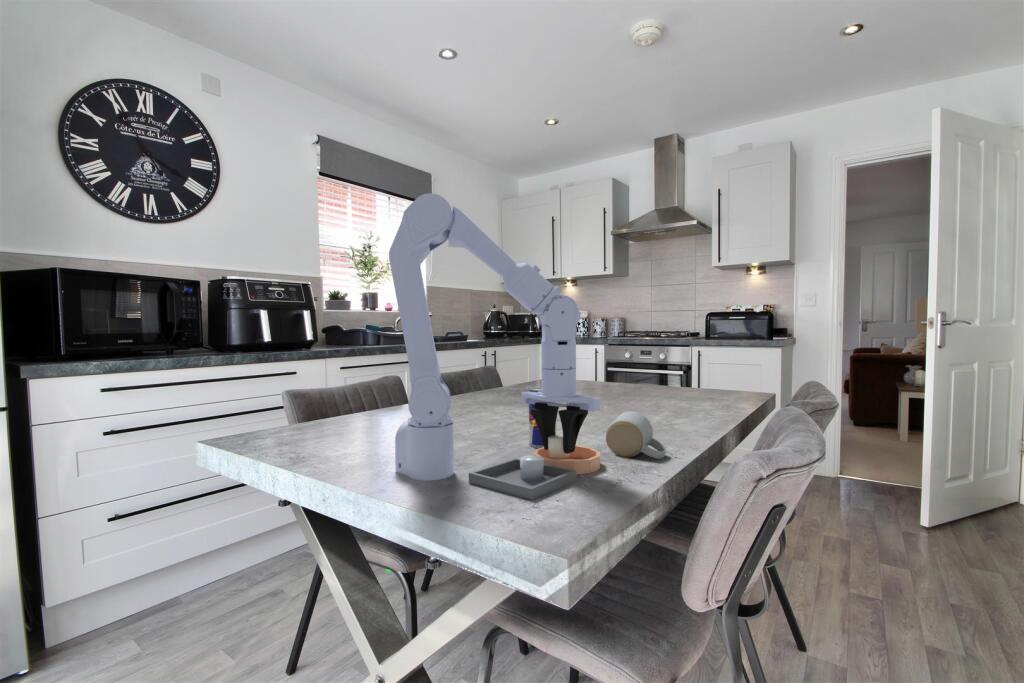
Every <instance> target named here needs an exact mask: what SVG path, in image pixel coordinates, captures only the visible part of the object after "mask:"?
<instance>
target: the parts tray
mask: <svg viewBox="0 0 1024 683" xmlns="http://www.w3.org/2000/svg"><path fill="white" fill-rule="evenodd" d="M577 477H578V474H577V471H575V470H570V469H565V468H561V467H556V466H551V465H546V464H544V479H542V480H540V481H524V480H522V479H521V478H520V458H516V457H515V458H512V459H509V460H506V461H502V462H499V463H497V464H492V465H489V466H486V467H483V468H481V469H477V470H474V471H471V472H468V483H469V484H472V485H476V486H479V487H483V488H487V489H491V490H494V491H498V492H500V493H501V492H502V493H504V494H505V493H506V494H509V495H512V496H515V497H520V498H523V499H526V500H530V501H533V500H535V499H538V498H540V497H542V496H545V495H547V494H549V493H551V492H554V491H556V490H558V489H561V488H563V487H565V486H567V485H569V484H572V483H575V482H576V481H577V480H578V478H577Z"/></svg>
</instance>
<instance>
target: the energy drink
mask: <svg viewBox="0 0 1024 683" xmlns="http://www.w3.org/2000/svg"><path fill="white" fill-rule="evenodd" d="M528 392H542V387H530V389H529V391H528ZM552 403H557V402H552ZM534 406H535V404H529V403H528V446H529V447H531V448H537V449H539V448H542V447H544V446H543V441H542V438H541V434H540V431H539V428H538V426H537V423H536V421H535V419H534V418H533V416H532V414H531V413H530V409H531V408H534ZM556 428H557V425H556V426H555V435H557V429H556Z"/></svg>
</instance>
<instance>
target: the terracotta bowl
mask: <svg viewBox="0 0 1024 683" xmlns="http://www.w3.org/2000/svg"><path fill="white" fill-rule="evenodd" d="M533 455H534V456H541V457H543V458H544V464H546V465H551V466H556V467H561V468H565V469H570V470H575V471H577V475H584V474H590V473H593V472H596V471H598V470H600V469H601V451H599V450H596V449H595V448H592V447H588V446H587V447H586V446H582V445H575V450H574V452H571V453H570V456H569V457H567V458H553V457H549V456H548V450H545V449H544V447H542V448H537V449H535V450H534V452H533Z"/></svg>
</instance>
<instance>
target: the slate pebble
mask: <svg viewBox="0 0 1024 683" xmlns="http://www.w3.org/2000/svg"><path fill="white" fill-rule="evenodd" d="M519 459H520V478H521V479H522V480H524V481H540V480H542V479H544V458H543V457H541V456H534V455H523V456H521V457H519Z"/></svg>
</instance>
